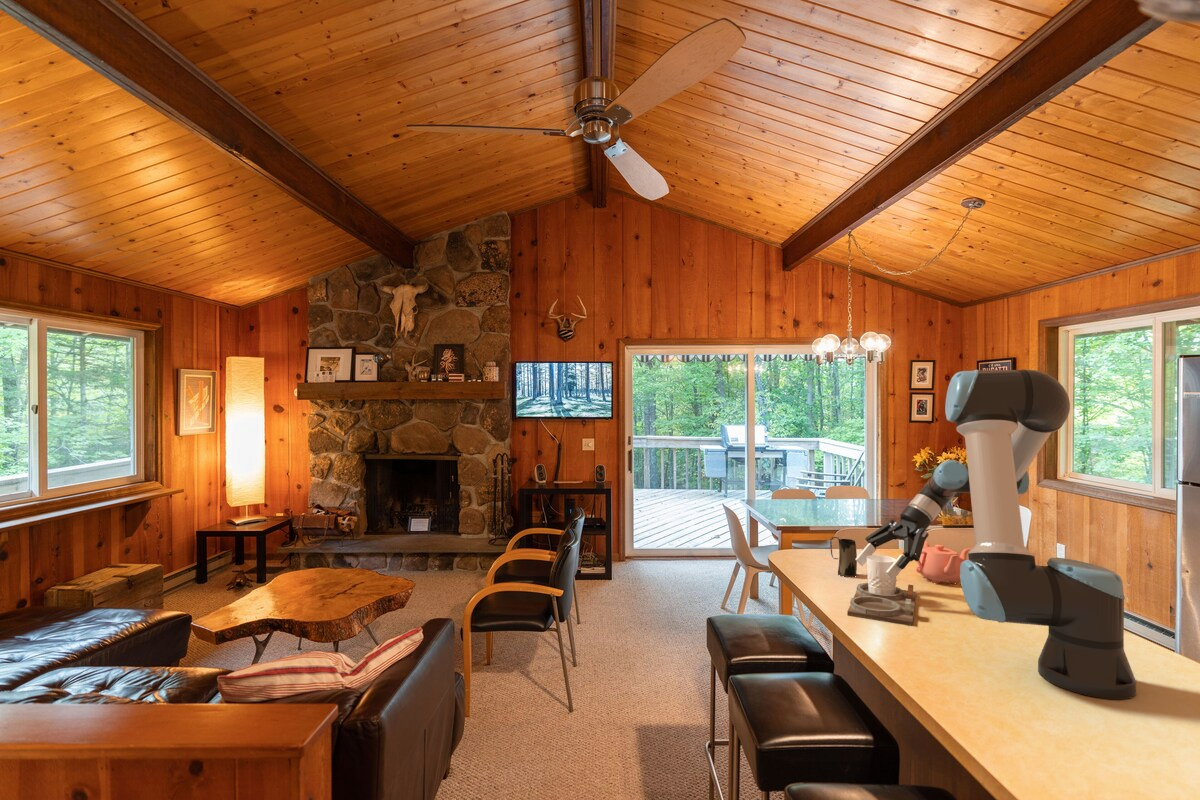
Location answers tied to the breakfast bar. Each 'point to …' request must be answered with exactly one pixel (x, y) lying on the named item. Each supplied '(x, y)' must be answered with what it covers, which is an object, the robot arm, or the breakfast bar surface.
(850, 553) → the mug
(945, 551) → the teapot
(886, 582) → the white cup
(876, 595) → the board
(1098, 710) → the breakfast bar surface
